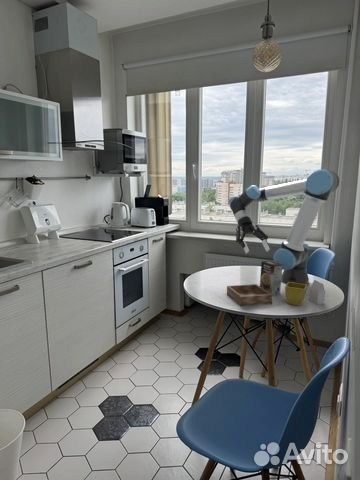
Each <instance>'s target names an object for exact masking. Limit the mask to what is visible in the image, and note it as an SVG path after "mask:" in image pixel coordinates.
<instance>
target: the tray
mask: <svg viewBox="0 0 360 480" xmlns="http://www.w3.org/2000/svg"><path fill="white" fill-rule="evenodd" d="M226 296H228V297H229V298H230V299H232V301H233V302H235V303H236V304H237V305H238V306H240V307H248V306H249V307H250V306H261V305H270V304H271V305H272V304H273V296H272V294H271V293H269V292H268V291H266V290H265V289H263V288H262V287H260V285H259V284H257V283H250V284H248V283H247V284H238V285H236V284H235V285H226Z"/></svg>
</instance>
